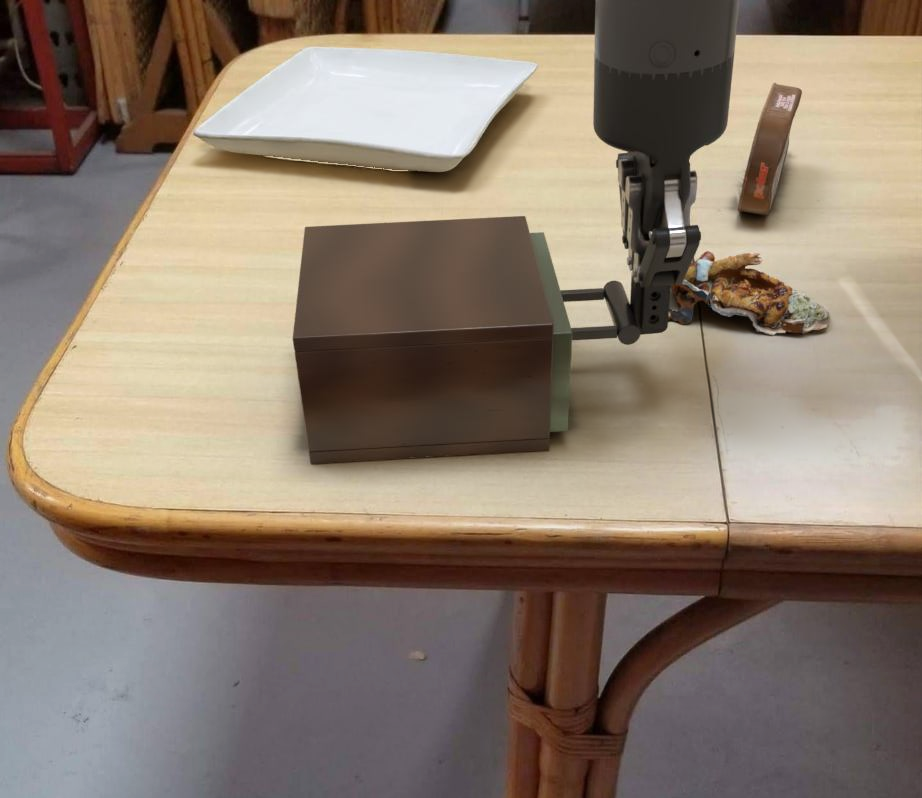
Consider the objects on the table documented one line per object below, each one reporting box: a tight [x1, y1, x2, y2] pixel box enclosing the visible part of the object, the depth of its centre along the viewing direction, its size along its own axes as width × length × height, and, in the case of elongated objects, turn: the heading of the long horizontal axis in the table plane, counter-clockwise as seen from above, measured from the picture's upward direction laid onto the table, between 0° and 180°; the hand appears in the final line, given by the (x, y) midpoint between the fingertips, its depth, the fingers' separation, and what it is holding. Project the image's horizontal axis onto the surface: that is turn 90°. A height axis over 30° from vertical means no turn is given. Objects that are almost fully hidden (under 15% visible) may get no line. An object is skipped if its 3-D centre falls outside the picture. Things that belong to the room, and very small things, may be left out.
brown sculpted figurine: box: [668, 250, 830, 337], centre depth 78 cm, size 7×12×4 cm, turn 71°
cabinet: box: [292, 215, 554, 465], centre depth 69 cm, size 15×15×9 cm
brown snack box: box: [737, 82, 803, 216], centre depth 92 cm, size 15×3×8 cm, turn 161°
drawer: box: [530, 231, 641, 433], centre depth 69 cm, size 18×14×7 cm
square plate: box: [192, 46, 539, 173], centre depth 108 cm, size 27×27×4 cm
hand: (648, 327), depth 69 cm, fingers closed
